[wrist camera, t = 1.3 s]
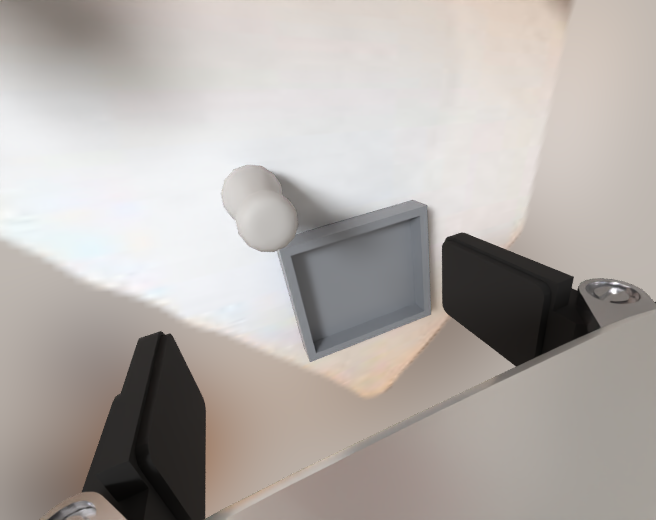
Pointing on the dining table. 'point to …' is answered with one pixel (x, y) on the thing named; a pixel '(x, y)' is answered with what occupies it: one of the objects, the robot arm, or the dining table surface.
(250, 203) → the salt shaker
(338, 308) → the tray
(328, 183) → the dining table surface
